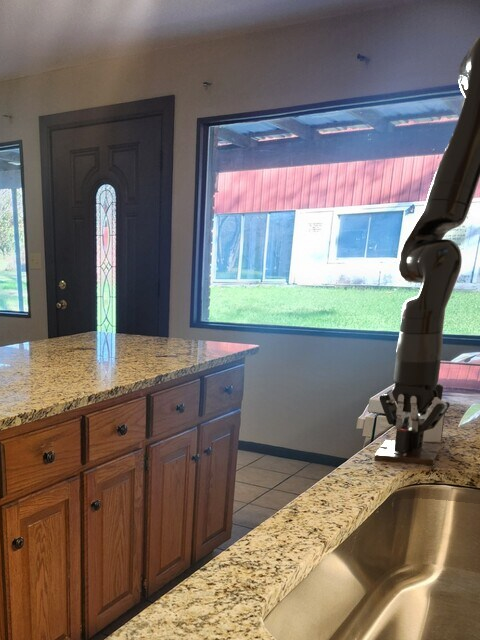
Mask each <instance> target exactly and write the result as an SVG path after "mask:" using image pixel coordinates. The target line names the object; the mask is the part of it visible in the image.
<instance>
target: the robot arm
mask: <svg viewBox="0 0 480 640" xmlns="http://www.w3.org/2000/svg"><path fill="white" fill-rule="evenodd" d="M457 75H458V76H457V77H458V85H459V88H460V91H461V93H462V95H463V96H464V100H463V104H462V108H461V109H460V114H459V115H458V119H457V122H456V125H455V127H454V130H453V132H452V135H451V136H450V139H449V141H448V143H447V146H446V148H445V150H444V152H443V155H442V156H441V159H440V162H439V164H438V167H437V169H436V171H435V174H434V177H433V180H432V182H431V185H430V188H429V191H428V194H427V198H426V201H425V204H424V207H423V210H422V213H420V216H419V217H418V219H417V220H416V222H415V223H414V225H413V227H412V229H411V230H410V232H409V234H408V236H407V238H406V239H405V241H404V243H403V245H402V247H401V249H400V251H399V254H398V259H397V270H398V274H399V276H400V277H401V279H402V280H403V281H405V282H408V283H413V284H422V285H421V287H420V290H419V293H418V295H417V296H414V297H411V298H409V299H407V300H405V302H404V303H403V305H402V309H401V311H402V312H401V318H400V329H399V336H398V340H397V344H396V354H395V363H394V371H393V382H394V386H393V387H392V389H391V392H388V393H386V394H382V395H380V396H379V403H380V405H381V407H382V410H383V412H384V416H385V419H386V421H387V424H388V425H389V426H390V425H391V426H394V427H395V428H396V431H397V430H398V429H401V428H402V429H405V428H408V427H409V423H410V418H411V420H412V431H413V432H411V436H410V445H409V451H413V452H414V451H417V450H419V448H421V446H422V440H423V433H424V431H426V430H429V429H433V428H434V427H435V426H436V425H437V423H438V422H439V420H440V419H441V418H442V416H443V415H444V414H445V415H446V413H447V411H448V410H449V409H450V407H451V404H450V402H448V401H443V400H442V401H441V400H440V399H439V398H438V397H437V396H438V394H437V391H436V385H437V383H438V384H439V377H440V370H441V361H442V354H443V353H442V352H443V342H444V341H443V339H444V338H443V333H444V332H443V331H444V323H445V316H446V315H445V314H446V308H447V306H448V303H449V301H450V299H451V296H452V294H453V290H454V288H455V286H456V284H457V282H458V278H459V275H460V272H461V269H462V263H463V258H462V252H461V249H460V247H459V245H458V243H456V241H454V240H452V239H447V238H444V237H445V235H446V234H447V233H448V232H449V231H451V230H454V229H456V228H458V227H460V226H462V225H463V224H464V222H465V221H466V218H467V217H468V214H469V211H470V208H471V205H472V203H473V199H474V196H475V194H476V190H477V187H478V184H479V182H480V35H479V36H478V37H477V38H476V39H475V41H474V42H473V43H472V45H471V46H470V48H469V49H468V50H467V52H466V54H465V55H464V57H463V59H462V61H461V63H460V65H459V69H458V74H457ZM431 404H433V405H432V408H431V410H432V412H431V413H430V414H429V416H428V408H429V407H430V406H431ZM419 413H420V414H419ZM426 418H427V419H426Z"/></svg>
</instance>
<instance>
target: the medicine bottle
mask: <svg viewBox="0 0 480 640" xmlns="http://www.w3.org/2000/svg"><path fill="white" fill-rule="evenodd" d="M436 391H437V394H438V396H437V397H438V398H439V399H440V400H441V401H443V393H444V386H443V385H442V384H441V383H439V382H438V383H437V385H436ZM432 405H433V404H431V406H430V407H429V408H428V416H429V414H430V413H431V412H432V410H431V408H432ZM419 414H420V413H419ZM445 418H446V413H445V414H444V415H443V416H442V418H441V419H440V420H439V422H438V423H437V425H436V426H435V427H434V428H433V429H429V430H426V431H424V435H423V443H438V444H439V443H441V442H442V440H443V432H444V423H445ZM426 419H427V418H426ZM409 427H412V420H411V418H410V423H409ZM409 427H408V428H409Z"/></svg>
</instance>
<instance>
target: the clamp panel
mask: <svg viewBox="0 0 480 640" xmlns="http://www.w3.org/2000/svg"><path fill="white" fill-rule="evenodd" d="M394 449H395V440H388V439H387V440H386V439H385V441H384V442H383V444H382V445H380V446H379V449H377V451H376V453H375V454H374V459H373V461H376V462H385V463H386V462H387V463H397V464H398V463H399V464H407V465H418V466H429V467H432V466H434V464H435V462H436V460H437V457H438V455H439V453H440V451H441V444H439V443H429V442H423V444H422V447H421V448H419V450H417V451H414V452H413V451H407V452H404V453H401V452H397V451H394Z"/></svg>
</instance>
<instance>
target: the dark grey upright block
mask: <svg viewBox="0 0 480 640" xmlns="http://www.w3.org/2000/svg"><path fill="white" fill-rule="evenodd" d="M411 432H413V431H412V427H409V428H405V429H402V428H401V429H398V430H397V429H396V431H395V440H394V441H395V449H394V451H397V452H401V453H404V452H407V451H409V445H410V436H411ZM423 435H424V433H423ZM423 443H424V442H423V440H422V444H423ZM421 447H422V446H421Z"/></svg>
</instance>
